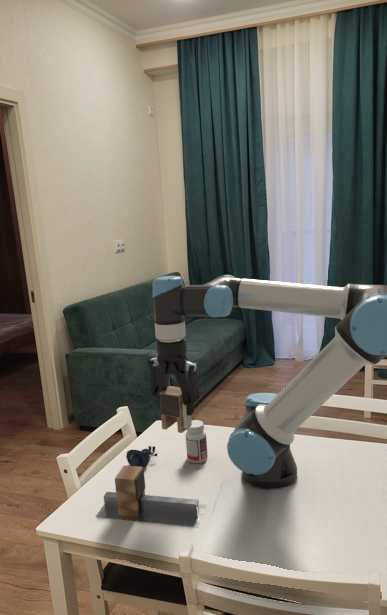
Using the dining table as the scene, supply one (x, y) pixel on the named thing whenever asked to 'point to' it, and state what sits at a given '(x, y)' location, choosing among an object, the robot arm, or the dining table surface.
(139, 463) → the toy
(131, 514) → the wooden block
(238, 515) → the dining table surface
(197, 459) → the pill bottle
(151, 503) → the rail
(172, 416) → the walnut finger
